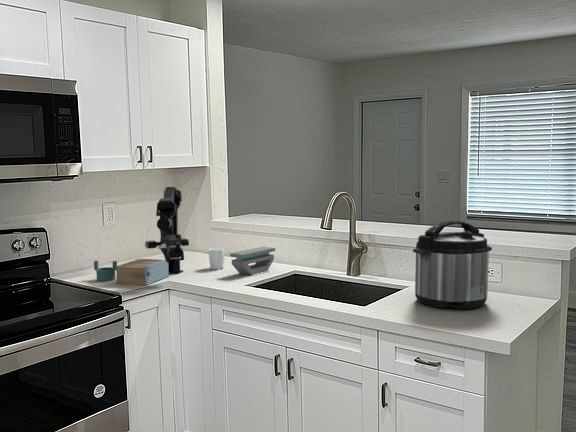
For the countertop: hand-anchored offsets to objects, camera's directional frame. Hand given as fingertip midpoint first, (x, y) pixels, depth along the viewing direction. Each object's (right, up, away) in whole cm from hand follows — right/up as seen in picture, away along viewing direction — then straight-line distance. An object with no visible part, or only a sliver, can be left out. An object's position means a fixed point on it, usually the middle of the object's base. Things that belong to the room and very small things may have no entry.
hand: (167, 262), depth 263 cm
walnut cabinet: (-13, -9, +6) cm, 17 cm away
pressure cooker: (+117, -13, -37) cm, 123 cm away
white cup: (+18, -6, +33) cm, 38 cm away
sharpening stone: (+37, -7, +22) cm, 44 cm away
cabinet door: (-5, -9, +4) cm, 11 cm away
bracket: (-30, -9, +8) cm, 33 cm away
